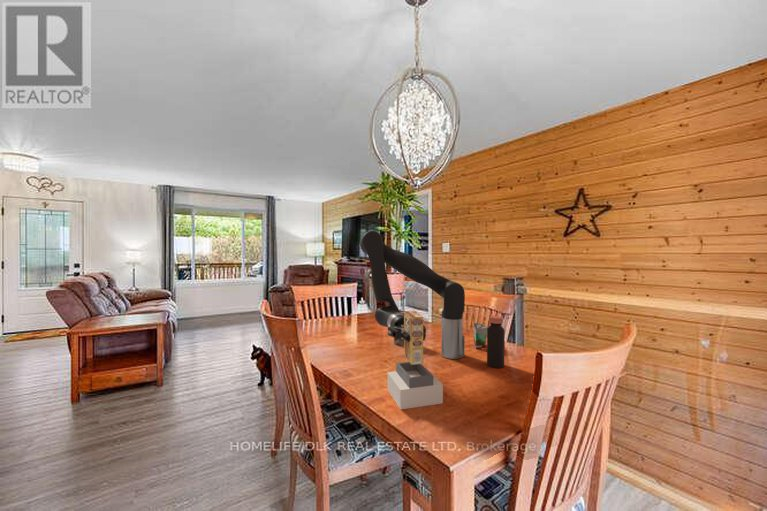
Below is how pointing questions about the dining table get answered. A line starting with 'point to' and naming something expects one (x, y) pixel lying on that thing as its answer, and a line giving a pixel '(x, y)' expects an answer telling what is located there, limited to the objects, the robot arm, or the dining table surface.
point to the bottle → (495, 343)
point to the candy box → (413, 337)
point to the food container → (480, 335)
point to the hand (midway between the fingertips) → (416, 338)
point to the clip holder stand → (414, 386)
